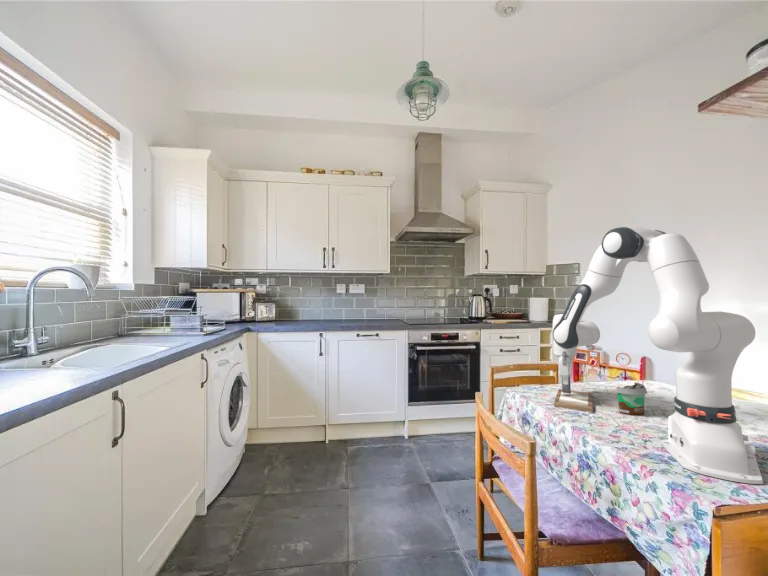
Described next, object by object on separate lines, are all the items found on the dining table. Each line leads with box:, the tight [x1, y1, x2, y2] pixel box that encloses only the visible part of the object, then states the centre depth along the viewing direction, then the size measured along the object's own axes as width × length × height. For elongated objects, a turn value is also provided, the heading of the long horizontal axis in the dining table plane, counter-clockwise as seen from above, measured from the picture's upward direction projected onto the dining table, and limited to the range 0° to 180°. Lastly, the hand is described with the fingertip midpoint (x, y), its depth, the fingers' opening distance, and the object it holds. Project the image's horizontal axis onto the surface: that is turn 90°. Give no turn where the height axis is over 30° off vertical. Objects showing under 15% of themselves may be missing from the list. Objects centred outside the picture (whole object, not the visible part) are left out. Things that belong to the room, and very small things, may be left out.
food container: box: [615, 382, 648, 417], centre depth 118 cm, size 12×6×10 cm, turn 114°
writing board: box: [553, 388, 594, 413], centre depth 133 cm, size 22×13×1 cm, turn 147°
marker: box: [561, 365, 572, 395], centre depth 136 cm, size 3×3×12 cm
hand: (566, 382), depth 136 cm, fingers closed on marker, 3 cm apart
